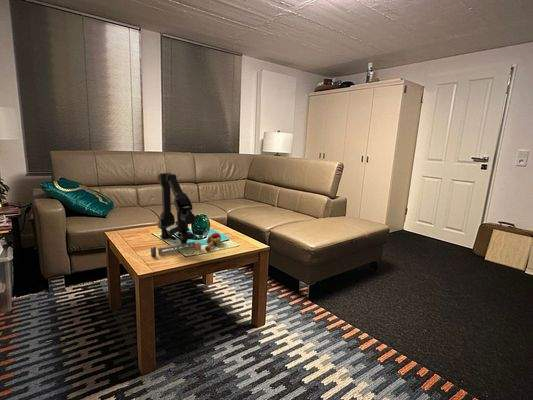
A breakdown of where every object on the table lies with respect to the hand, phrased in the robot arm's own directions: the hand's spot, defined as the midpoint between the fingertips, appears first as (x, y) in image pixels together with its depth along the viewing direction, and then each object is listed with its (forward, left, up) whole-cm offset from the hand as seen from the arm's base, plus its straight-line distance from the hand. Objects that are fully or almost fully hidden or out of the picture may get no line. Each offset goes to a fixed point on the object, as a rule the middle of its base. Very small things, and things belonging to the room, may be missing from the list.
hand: (183, 246), depth 159 cm
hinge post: (+2, -16, -1) cm, 16 cm away
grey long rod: (+2, -4, -1) cm, 4 cm away
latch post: (+5, +6, -1) cm, 8 cm away
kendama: (+4, +16, -2) cm, 16 cm away
